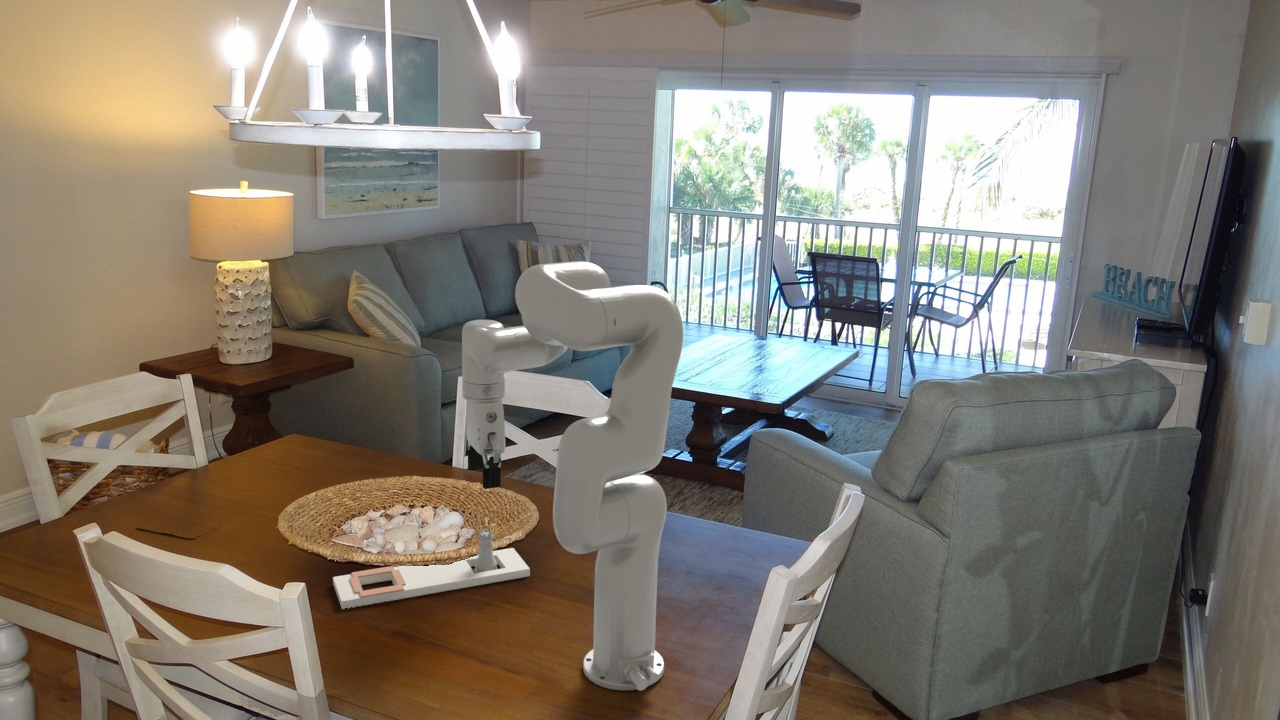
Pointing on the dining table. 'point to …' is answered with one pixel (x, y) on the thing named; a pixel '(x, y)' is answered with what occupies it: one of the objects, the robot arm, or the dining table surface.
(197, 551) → the dining table surface
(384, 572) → the white board with slots
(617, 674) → the robot arm
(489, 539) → the rook chess piece
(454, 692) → the dining table surface
